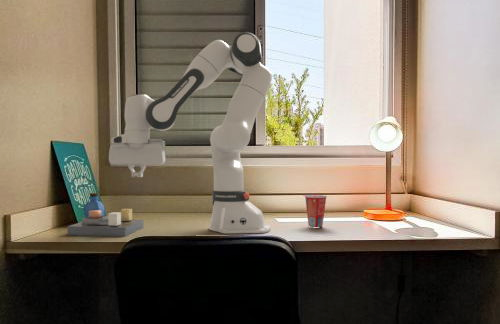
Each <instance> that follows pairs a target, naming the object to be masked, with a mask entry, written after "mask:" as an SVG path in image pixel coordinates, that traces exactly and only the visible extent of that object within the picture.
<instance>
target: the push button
mask: <svg viewBox="0 0 500 324" xmlns="http://www.w3.org/2000/svg"><path fill="white" fill-rule="evenodd" d="M99 218H101V210H92V211H89V219H99Z"/></svg>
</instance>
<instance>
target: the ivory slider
mask: <svg viewBox="0 0 500 324" xmlns="http://www.w3.org/2000/svg"><path fill="white" fill-rule="evenodd" d="M107 214H108V215H107V216H108V225H112V226H117V225H120V224H121V211H120V212H119V211H117V212H116V211H112V212H110V213H107Z"/></svg>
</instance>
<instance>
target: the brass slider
mask: <svg viewBox="0 0 500 324" xmlns="http://www.w3.org/2000/svg"><path fill="white" fill-rule="evenodd" d="M120 212H121V221H130V220H132V219H133V208H122V209H120Z"/></svg>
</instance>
